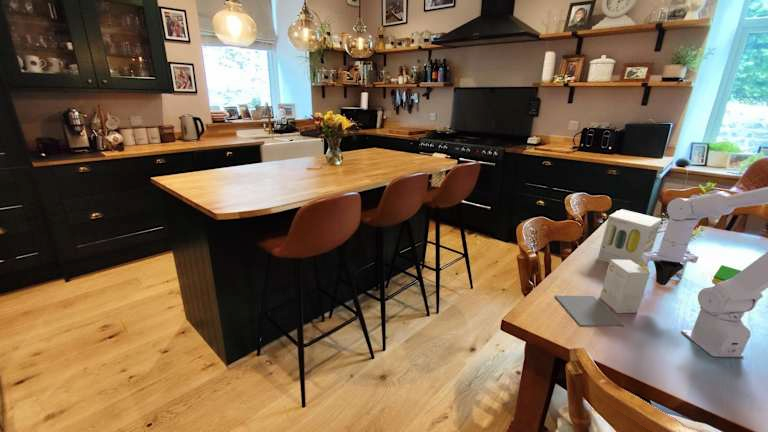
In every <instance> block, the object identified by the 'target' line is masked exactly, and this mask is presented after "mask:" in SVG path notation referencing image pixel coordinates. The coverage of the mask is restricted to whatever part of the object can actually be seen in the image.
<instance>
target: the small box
mask: <svg viewBox="0 0 768 432" xmlns="http://www.w3.org/2000/svg"><path fill="white" fill-rule="evenodd" d="M650 274H651V272H650V271H649V272H648V271H647V270H645V269H644V268H642V267H640V266H639V265H637V264H636V263H634V262H633V261H631V260H614V259H611V260H610V263H609V264H608V267H607V270H606V274H605V278H604V281H603V285H602V288H601V290H600V291H601V292H600V295H599V298H600V299H601V300H602V301H604V303H605V304H606V305H608V306H609V307H610V308H611V309H612V310H613V311H614V312H615V313H616V314H619V313H620V314H622V313H623V314H625V313H627V314H629V313H630V314H633V313H638V312H639V309H640V305H641V302H642V300H643V297H644V294H645V289H646V287H647V285H648V280H649V279H648V278H650Z"/></svg>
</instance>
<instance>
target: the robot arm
mask: <svg viewBox="0 0 768 432" xmlns="http://www.w3.org/2000/svg"><path fill="white" fill-rule="evenodd" d="M761 205H762V206H763V205H768V186H766V187H761V188H757V189H751V190H748V191H743V192H738V193H734V194H733V193H732V194H731V193H729V192H728V191H722V190H721V191H720V190H719V189H713V190H709V193H706V194H702V195H701V194H699V195H698V194H692V195H690V197H689V198H683V197H676V198H674V199H672V200H670V201H669V202H668V204H667V206H666V212H667V216H669V219H668V221H667V224H666V228H665V230H664V233H663V237H662V239H661V242H660V245H659V248H657V249H656V250H654V251H651V252H648V253H643V255H642V258H641V259H642V260H644V261H645V262H648V263H650V262H653V264H654V267H655V276H656V277H655V278H656V279H655V282H656V283H657V284H659V286H666V285H667V284H668V283H669V282H670V280H671V279H672V278H673V277H674V276H675V275H676V274H677V273H678V272H680V271H682V270H683V269H684V264H682V263H684V262H685V263H689V262H690V263H692V264H697V262H698V260H699V256H697V255H696V254H695V253H689V252H688V253H687V250H688V247H689V245H690V241H691V238H692V235H693V233H694V231H695V227H696V226H698V224H699V221H700V220H702V219H704V218H710V217H719V216H726V215H727V216H728V215H730V214H731V213H733V212H734V210H735V209H736V208H743V207H746V208H747V207H751V206H754V207H755V206H761ZM740 271H741V272H740V273H738V274H737V275H736V276H734V277H733V278H731V279H728V280H725V281H723V282H720V283H716V284H715V285H713V286H710V287H704V288H702V289H701V290H700V291H699V292H698V294H697V300H698V305H699V308H700V311H699V312H698V316H697V318H696V320H695V323H694V325H693V328H692V329H682V330H681V333H683V334H684V335H685V336H686V337H687V338H689V339H690V340H692V341H693V342H694V343H695V344H697V345H698V347H700V348H702V350H704V351H705V352H706V353H708V354H709V355H710V356H711V357H714V358H715V357H716V358H719V357H721V358H722V357H723V358H724V357H726V358H729V357H731V358H743V357H745V354H744V353H743V352H744V350H745V348H746V346H747V345H748V342H749V339H750V337H751V330H750V329H749V328H748V327H747V326H746V325H745V324H744V323H743V321H742V318H743V317H744V315H745V313H747V312H751V311H753V310H754V309H755V308H756V304H757V303H758V301H759V300H760V299H762V298H763V293H762V292H763V291H766V289H768V251H766V252H764V253H763V254H762V255H761V256H760V257H758V258H757V259H756V260H754V261H753V262H752V263H750V264H749V265H748V266H746V267H745V268H743V269H742V270H740Z"/></svg>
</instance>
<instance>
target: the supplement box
mask: <svg viewBox="0 0 768 432" xmlns="http://www.w3.org/2000/svg"><path fill="white" fill-rule="evenodd" d="M662 220H663V218H660V217H656V216H651V215H647V214H643V213H639V212H635V211H631V210H627V209H623V208H622V209H620V210H618V211H616V212H613V213H611V214H610V215H608V218H607V222H606V226H605V229H604V232H603V237H602V241H601V244H600V247H599V249H600V250H598V251H599V252H598V256H597V260H599V261H600V260H601V261H603V262H606V263H610V260H611V259H614V260H631V261H633V262H634V263H636V264H643V265H644V266H646V265H647V264H648V263H649V262H645V261H644V260H642V259H641V258H642V255H643V253H648V252H653V248H654V244H655V242H656V240H657V239H656V238H657V235H658V233H659V229H660V227H661V223H662Z"/></svg>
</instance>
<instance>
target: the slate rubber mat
mask: <svg viewBox="0 0 768 432" xmlns="http://www.w3.org/2000/svg"><path fill="white" fill-rule="evenodd" d="M554 298H555V299H556V300H557V301H558V302H559V304H561V306H562V307H563V308H564V309H565V310H566V311H567V313H568V314H569V315H570V316H571V317H572V318H573V320H574V321H575V322H576V323H577V324H578V326H579V327H625V325H624V323H622V321H620V319H618V318H617V317H616V316H615V314H614V313H613V312H611V311H610V310H609V309H608V308H607V307H606V306H605V305H604V304H602V302H601V301H600V300H599V299H597V298H596V297H595V296H594V295H554Z"/></svg>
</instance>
